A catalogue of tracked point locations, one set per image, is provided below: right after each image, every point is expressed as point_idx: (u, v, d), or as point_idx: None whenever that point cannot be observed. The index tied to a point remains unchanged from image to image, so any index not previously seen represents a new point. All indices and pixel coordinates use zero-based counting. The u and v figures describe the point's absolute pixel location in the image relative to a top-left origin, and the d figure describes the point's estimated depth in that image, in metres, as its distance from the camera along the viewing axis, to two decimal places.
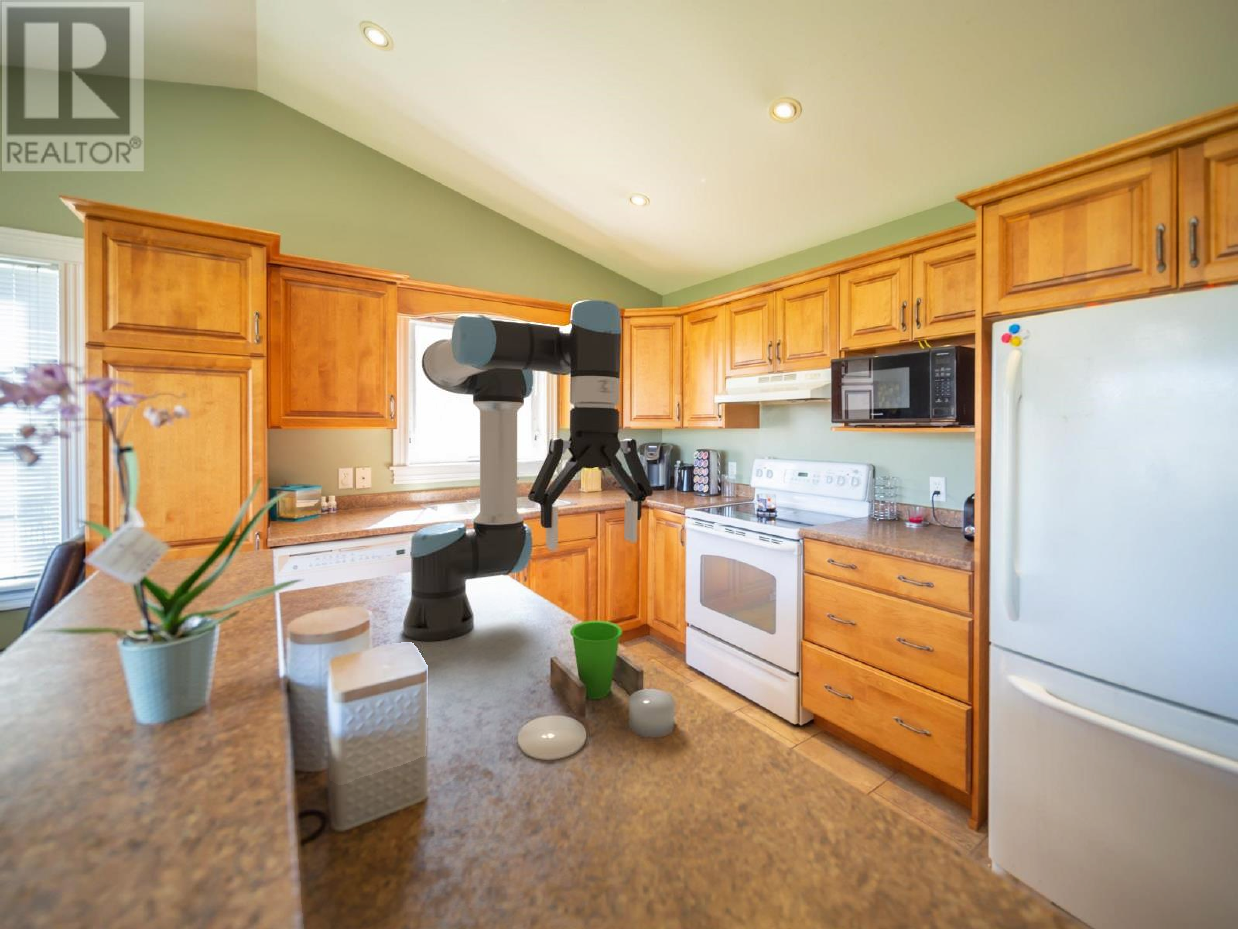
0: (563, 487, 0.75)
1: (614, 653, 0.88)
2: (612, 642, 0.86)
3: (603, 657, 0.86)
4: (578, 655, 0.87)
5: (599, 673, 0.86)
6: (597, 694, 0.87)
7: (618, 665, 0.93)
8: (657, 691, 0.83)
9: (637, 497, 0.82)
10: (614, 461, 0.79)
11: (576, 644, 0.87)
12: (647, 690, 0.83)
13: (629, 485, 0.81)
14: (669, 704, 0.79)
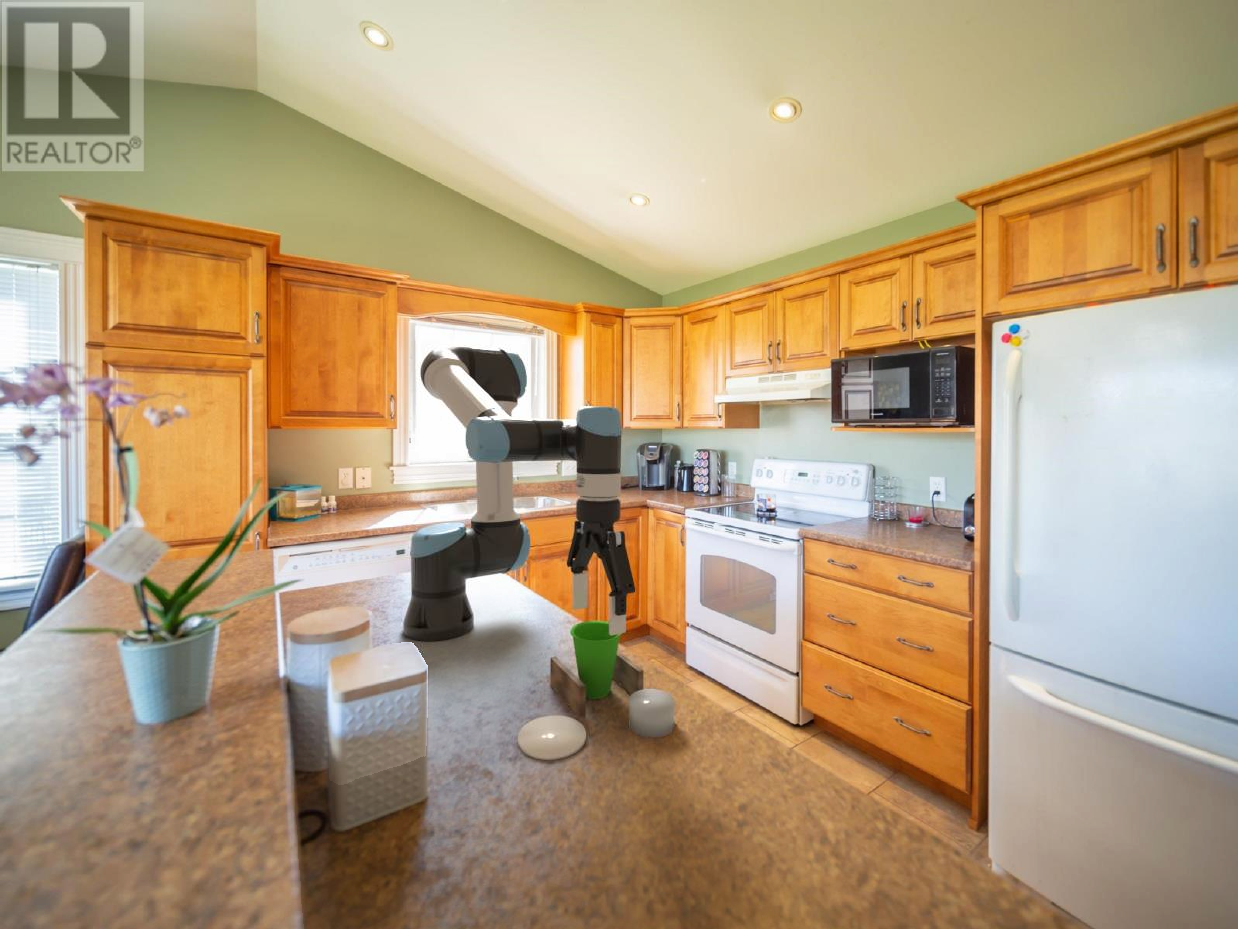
0: (577, 560, 0.92)
1: (614, 653, 0.88)
2: (612, 642, 0.86)
3: (603, 657, 0.86)
4: (578, 655, 0.87)
5: (599, 673, 0.86)
6: (597, 694, 0.87)
7: (618, 665, 0.93)
8: (657, 691, 0.83)
9: None
10: (596, 549, 0.85)
11: (576, 644, 0.87)
12: (647, 690, 0.83)
13: (608, 577, 0.83)
14: (669, 704, 0.79)
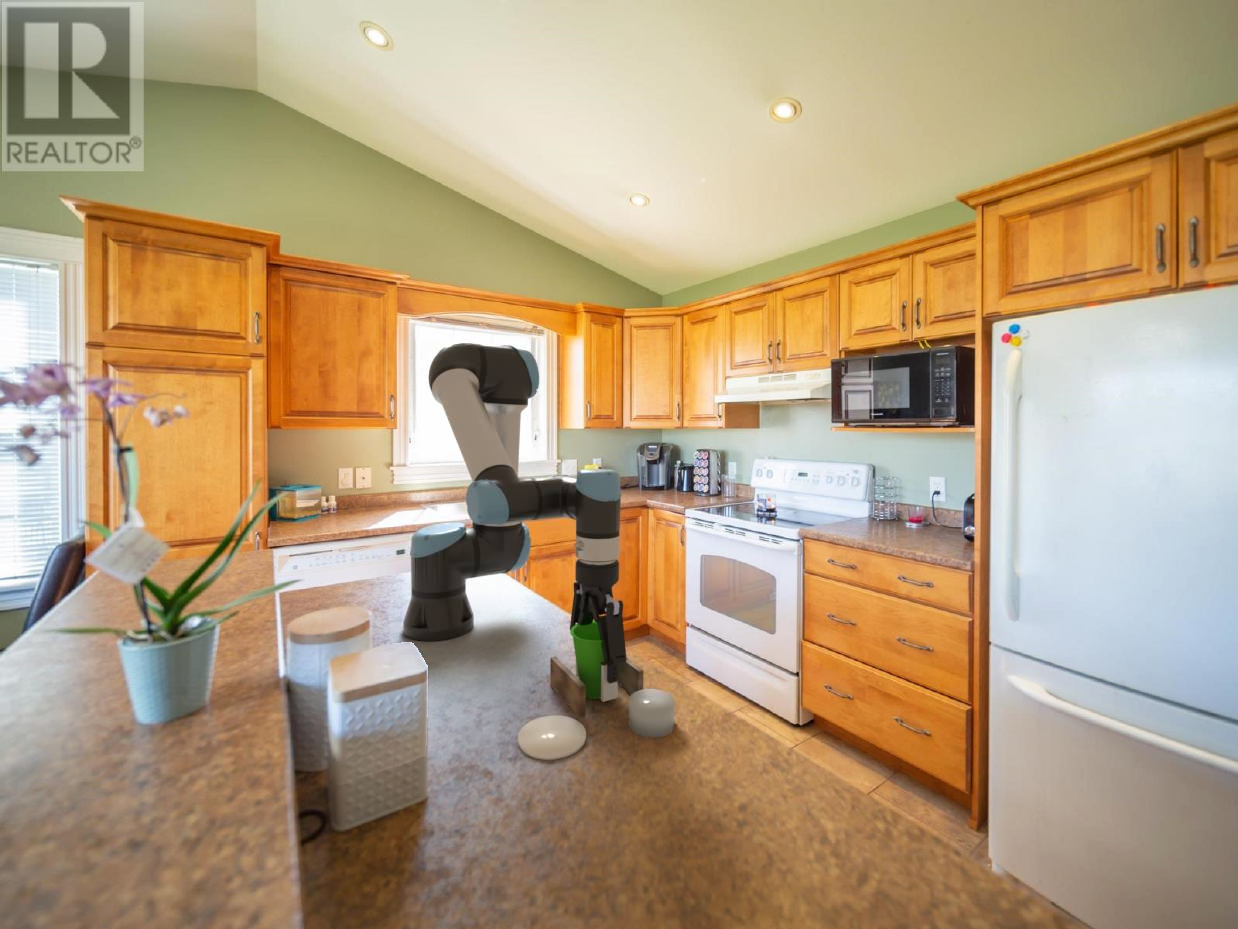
0: None
1: None
2: None
3: (603, 657, 0.86)
4: (578, 655, 0.87)
5: (599, 673, 0.86)
6: (597, 694, 0.87)
7: (618, 665, 0.93)
8: (657, 691, 0.83)
9: (604, 659, 0.84)
10: (593, 613, 0.86)
11: (576, 644, 0.87)
12: (647, 690, 0.83)
13: (602, 643, 0.85)
14: (669, 704, 0.79)
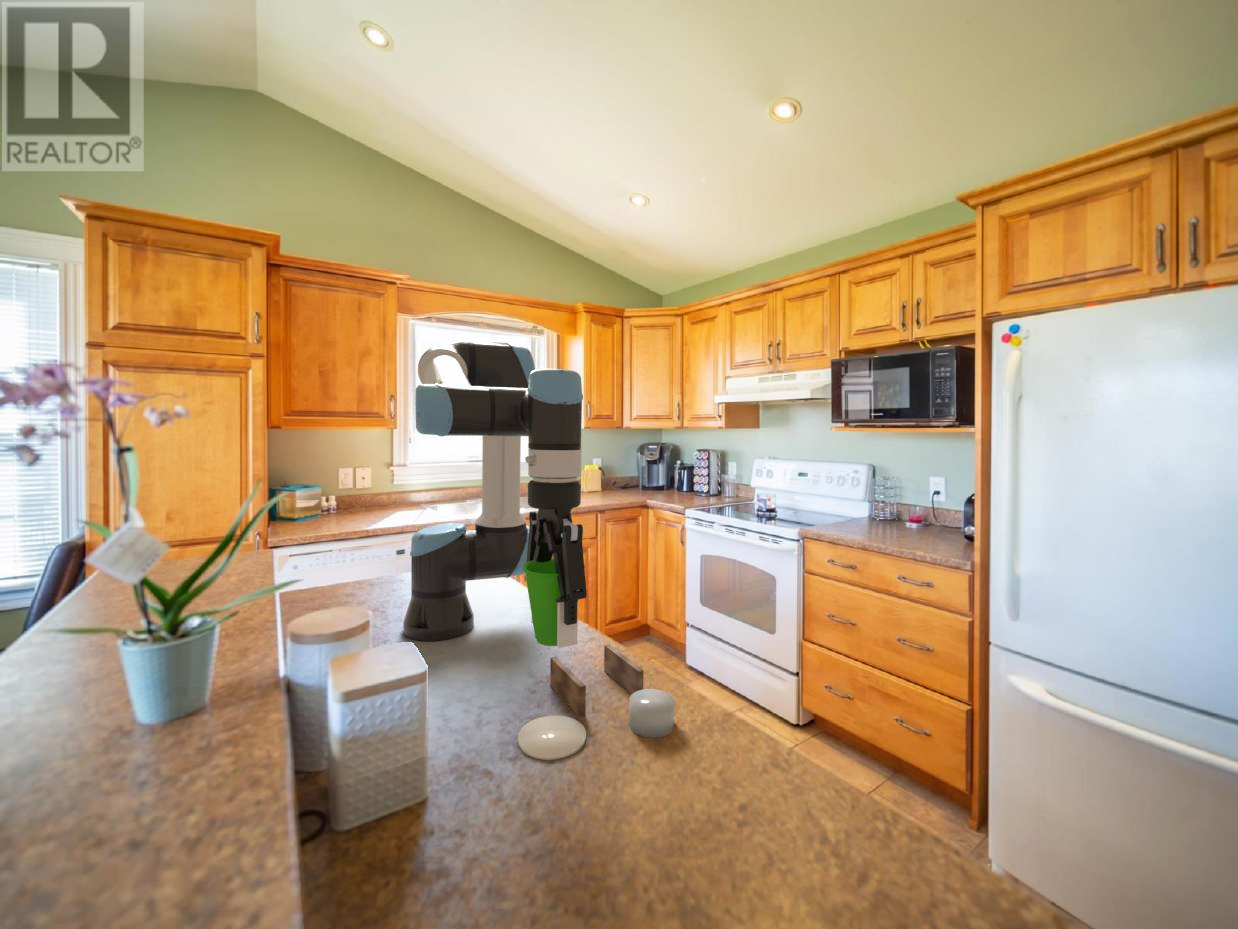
0: None
1: None
2: None
3: None
4: (530, 593, 0.72)
5: (556, 614, 0.72)
6: (554, 640, 0.72)
7: (618, 665, 0.93)
8: (657, 691, 0.83)
9: (561, 595, 0.69)
10: (549, 542, 0.71)
11: (528, 580, 0.72)
12: (647, 690, 0.83)
13: (558, 577, 0.70)
14: (669, 704, 0.79)
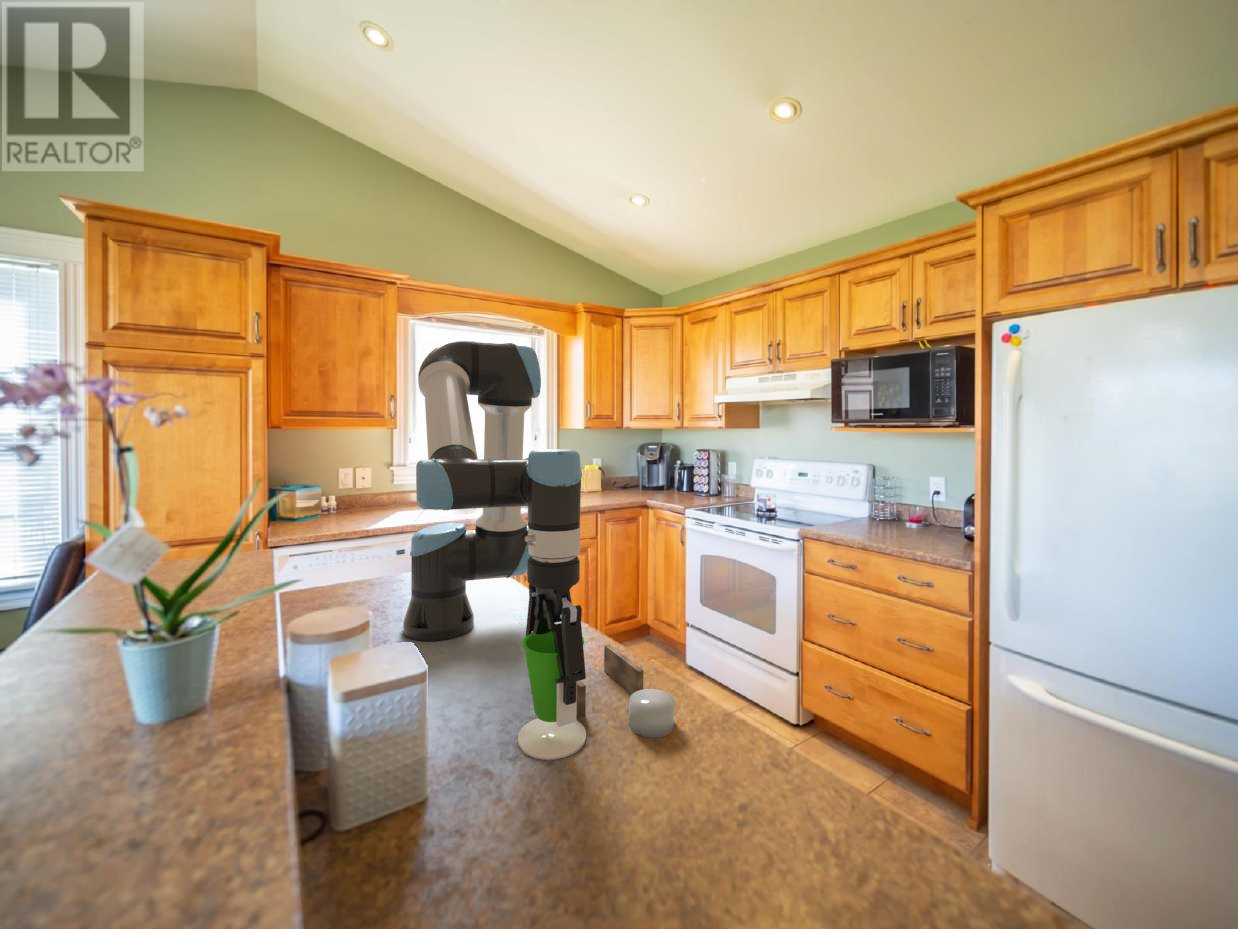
0: None
1: None
2: None
3: None
4: (530, 670, 0.73)
5: (555, 692, 0.72)
6: (553, 717, 0.73)
7: (618, 665, 0.93)
8: (657, 691, 0.83)
9: (560, 675, 0.70)
10: (548, 620, 0.72)
11: (528, 657, 0.73)
12: (647, 690, 0.83)
13: (557, 656, 0.71)
14: (669, 704, 0.79)
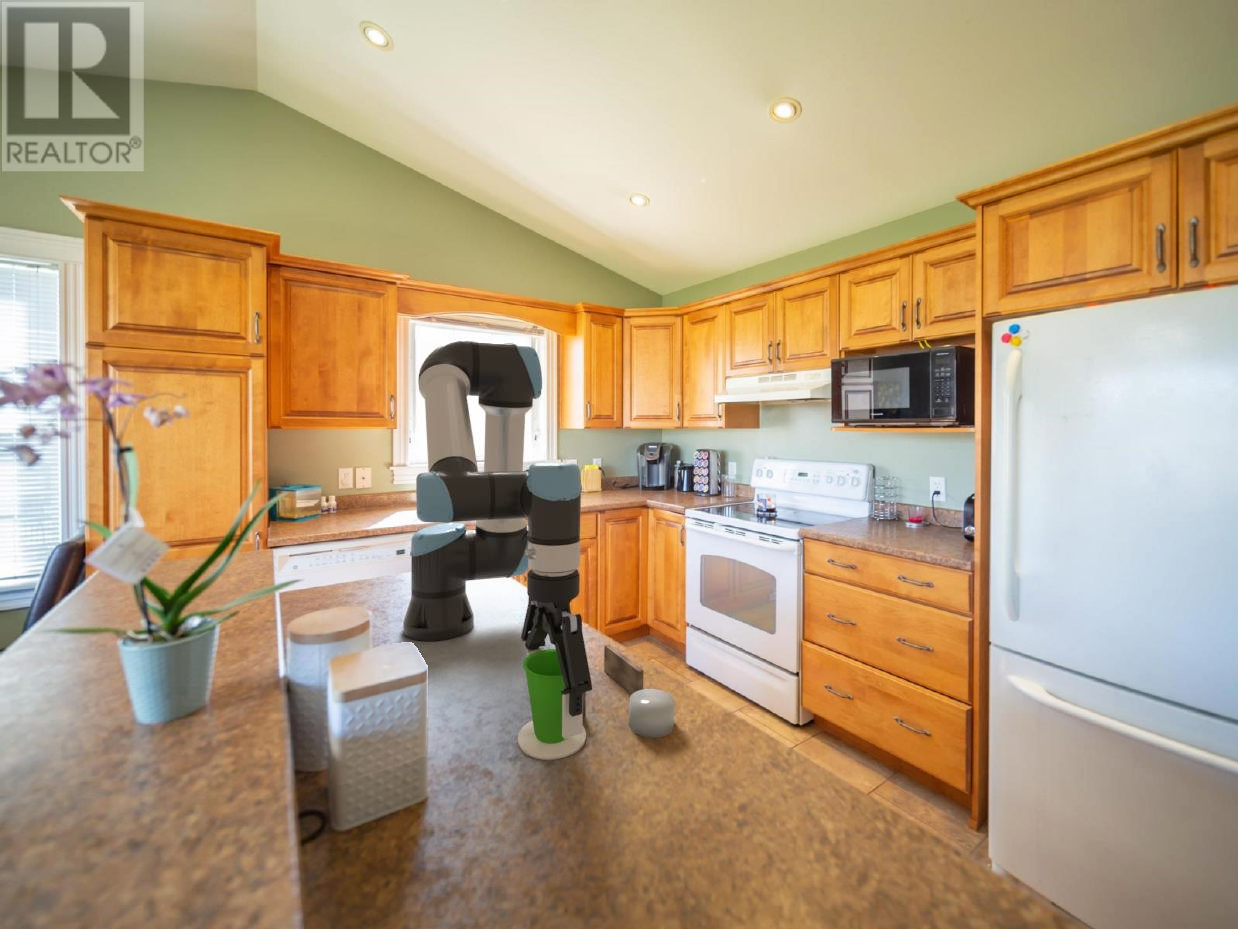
0: (531, 637, 0.79)
1: None
2: None
3: (559, 695, 0.72)
4: (530, 691, 0.74)
5: (555, 714, 0.73)
6: (553, 738, 0.74)
7: (618, 665, 0.93)
8: (657, 691, 0.83)
9: (566, 687, 0.69)
10: (549, 633, 0.72)
11: (528, 679, 0.73)
12: (647, 690, 0.83)
13: (561, 668, 0.70)
14: (669, 704, 0.79)
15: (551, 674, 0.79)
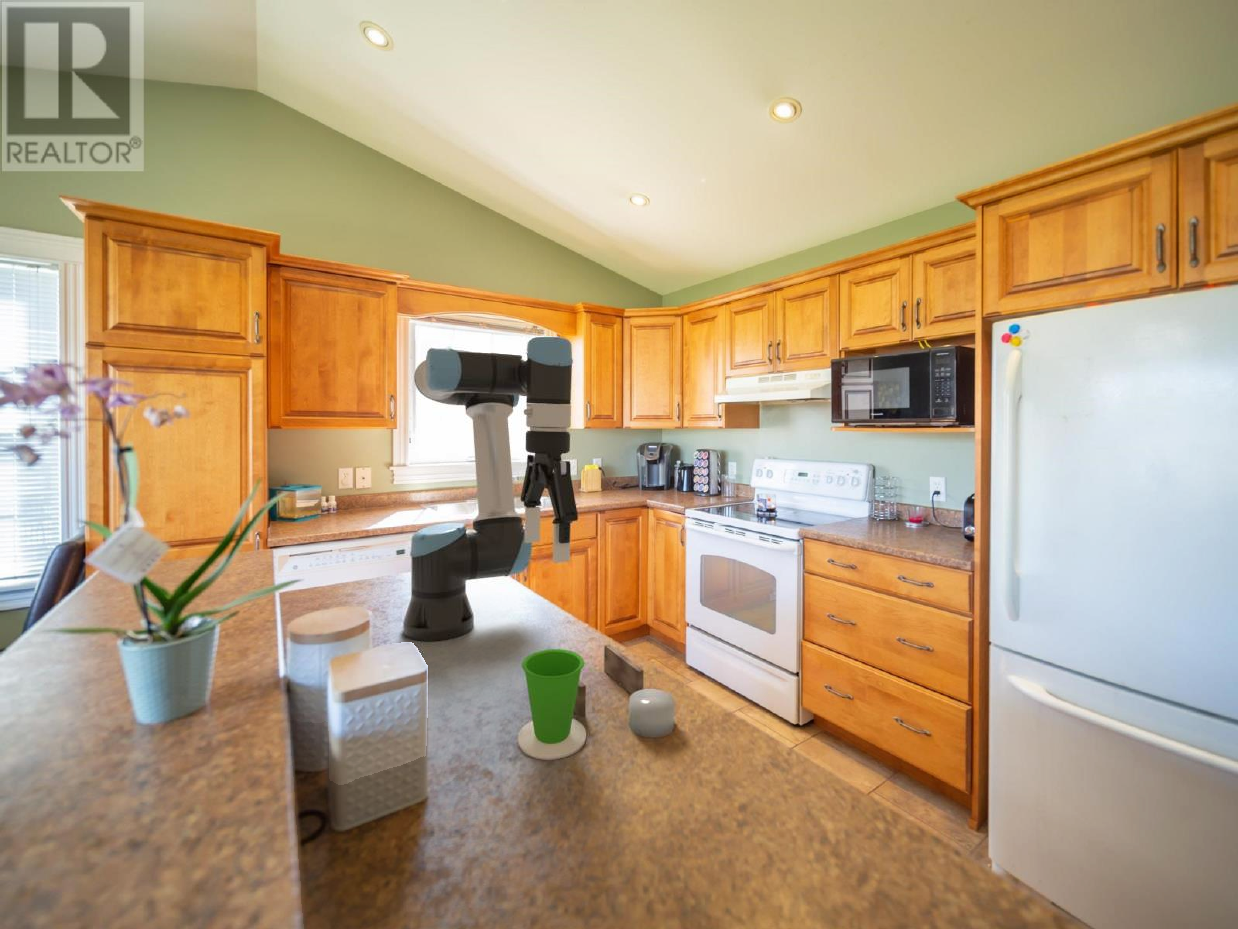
0: (529, 494, 0.93)
1: (573, 690, 0.74)
2: (570, 677, 0.73)
3: (559, 695, 0.72)
4: (530, 692, 0.74)
5: (555, 714, 0.73)
6: (553, 739, 0.74)
7: (618, 665, 0.93)
8: (657, 691, 0.83)
9: None
10: (543, 479, 0.85)
11: (528, 679, 0.73)
12: (647, 690, 0.83)
13: (553, 505, 0.83)
14: (669, 704, 0.79)
15: (550, 674, 0.79)
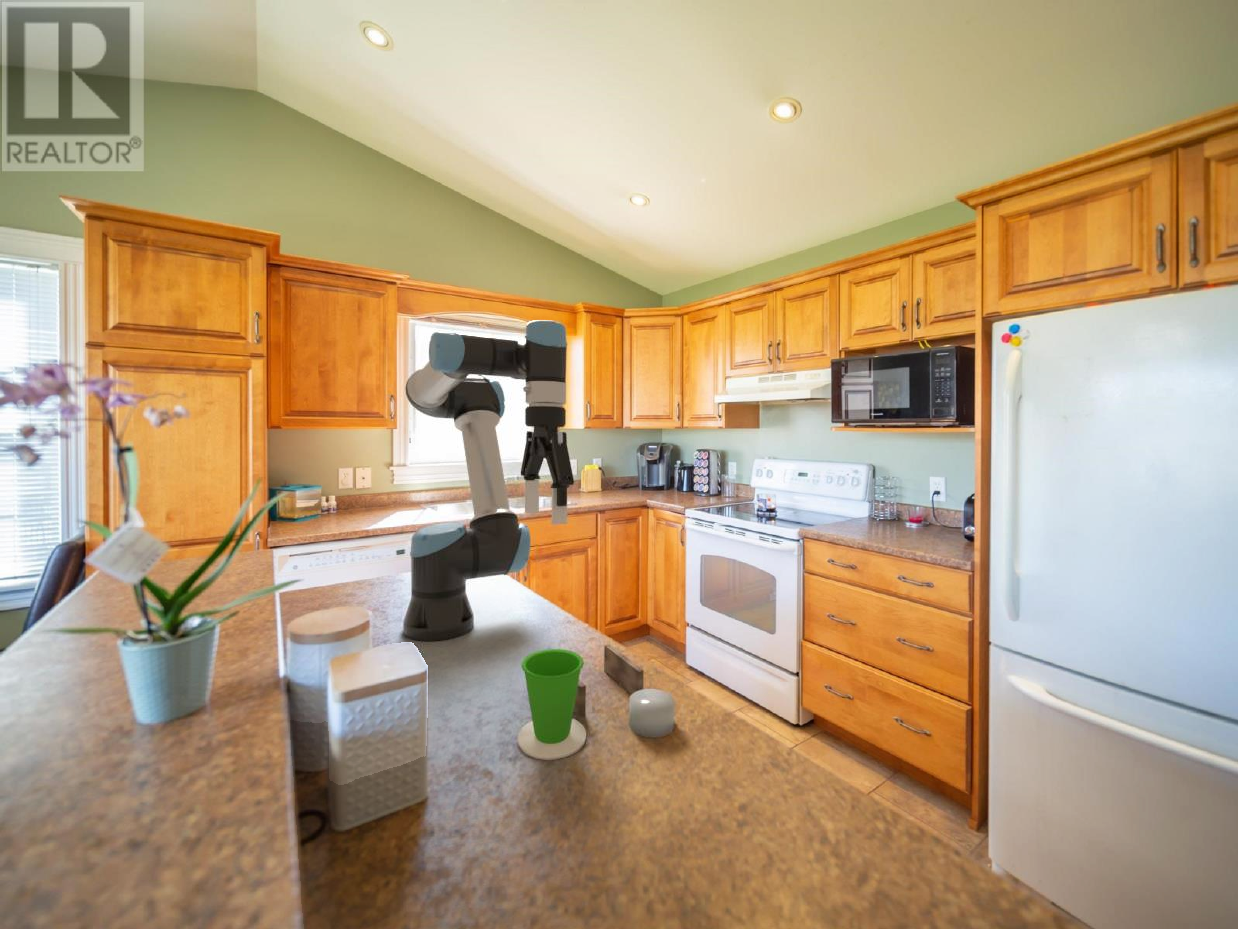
0: (528, 467, 1.01)
1: (573, 689, 0.74)
2: (570, 677, 0.73)
3: (559, 695, 0.72)
4: (529, 692, 0.74)
5: (555, 714, 0.73)
6: (553, 738, 0.74)
7: (618, 665, 0.93)
8: (657, 691, 0.83)
9: None
10: (542, 450, 0.94)
11: (527, 679, 0.73)
12: (647, 690, 0.83)
13: (551, 472, 0.92)
14: (669, 704, 0.79)
15: (550, 674, 0.79)
